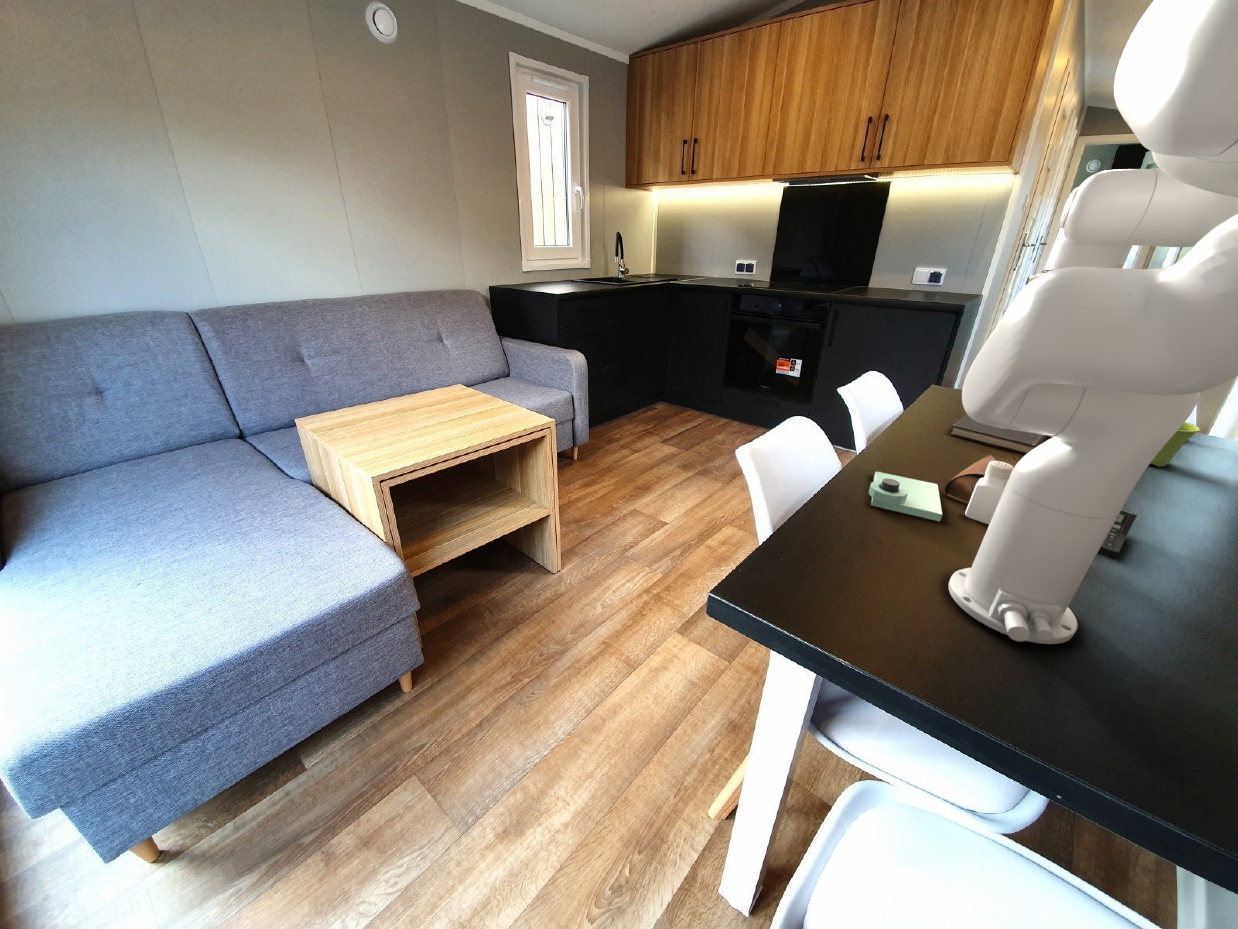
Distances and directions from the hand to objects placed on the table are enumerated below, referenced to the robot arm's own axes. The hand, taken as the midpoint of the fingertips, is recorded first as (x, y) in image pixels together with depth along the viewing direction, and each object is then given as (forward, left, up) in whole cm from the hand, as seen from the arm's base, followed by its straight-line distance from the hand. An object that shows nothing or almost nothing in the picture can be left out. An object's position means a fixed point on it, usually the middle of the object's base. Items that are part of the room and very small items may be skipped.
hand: (1021, 415), depth 72 cm
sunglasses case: (+12, -2, -18) cm, 22 cm away
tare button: (-3, +14, -15) cm, 21 cm away
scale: (+1, +11, -18) cm, 21 cm away
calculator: (+4, -14, -18) cm, 23 cm away
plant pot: (+47, -35, -18) cm, 61 cm away
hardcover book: (+50, -10, -18) cm, 54 cm away
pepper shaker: (0, 0, -18) cm, 18 cm away
